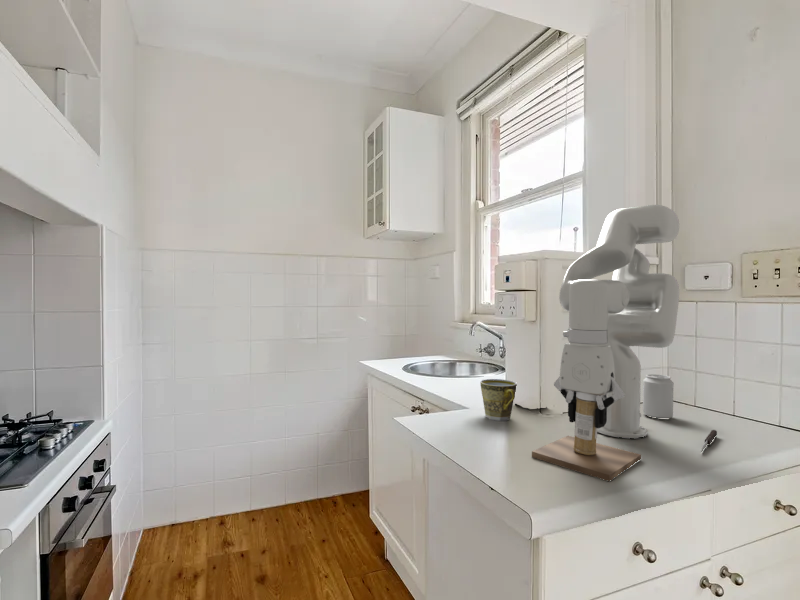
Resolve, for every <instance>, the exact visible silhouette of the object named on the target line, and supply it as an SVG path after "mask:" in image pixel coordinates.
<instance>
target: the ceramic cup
mask: <svg viewBox="0 0 800 600" xmlns="http://www.w3.org/2000/svg"><path fill="white" fill-rule="evenodd" d="M516 386H517V382H515V381H513V380H509V379H503V378H502V379H501V378H499V379H498V378H488V379H482V380H481V381H480V391H481V396H482V402H483V409H484V415H485V417H486V418H487V419H488V420H490V421H498V422H505V421H508V420H510V419H511V415H512V411H513V410H512V409H513V405H514V401H515V392H516Z"/></svg>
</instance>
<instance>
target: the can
mask: <svg viewBox="0 0 800 600" xmlns="http://www.w3.org/2000/svg"><path fill="white" fill-rule="evenodd" d="M671 378H672V377H671V376H670V375H666V374H665V375H664V374H654V373H651V374H650V373H649V374H645V378H643V380H642V384H643V385H642V386H643V387H642V388H643V389H642V413H643V414H644V415H645V416H646V415H647V416H651V417H656V418H670V419H671V418H673V417H674V387H675V386H674V381H672V380H671ZM647 416H646V417H647Z"/></svg>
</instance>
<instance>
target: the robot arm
mask: <svg viewBox="0 0 800 600" xmlns="http://www.w3.org/2000/svg"><path fill="white" fill-rule="evenodd" d="M679 231H680V221H679V216H678V215H677V213H676V211H674V209H671V208H670V207H668V206H665V205H663V204H650V205H649V204H648V205H641V206H632V207H625V208H617V209H616V210H613V211H612V212H610V213H609V214H608V215H607V216H606V218H605V219H604V223H603V225H602V228H601V231H600V234H599V237H598V240H597V241H596V246H595V247H593V248H592V249H590V250H588V251H587V252H586V253H584V254H582V255H581V256H580V257H579V258H578V259H576V260H575V261H573V263H571V264H570V265H569V267H568V269H567V270H566V272H565V274H564V276H563V277H564V278H563V280H562V282H561V285H560V289H559V294H558V295H559V296H558V297H559V298H558V300H559V303H560V306H561V307H562V309H563V310H565V311H566V312H568V329H567V330H563V333H562V335H563V338H567V341H568V342H565V343H564V344H563V349H562V355H561V360H560V369H559V376H558V377H557V379H556V380H555V381H554V382H553V386H554V387H555V388H556V389H557V390H558V391H559V392H560V394H561V396H562V397H564V399H565V402H566V403H567V415H568V416H567V417H569V418H568V420H569V422H570V423H575V415H576V403H577V399H576V398H577V397H576V392H581V393H587V394H592V395H595V397H596V401H597V405H598V408H597V409H595V427H596V428H597V433H599V434H602V435H605V436H608V437H614V438H619V437H622V438H621V439H630V438H634V439H639V438H638V437H643V438H645V437H646V436H647V435H648V430H647V429H646V428H645V427H644V426H641V417H642V412H641V373H642V367H641V362H640V359H639V358H638V356H637V355H636V354H635V352H634V351H633V350H632V348H631V347H642V348H654V349H655V348H656V349H657V348H658V349H659V348H662V349H663V348H664V349H665V348H667V347H669V346H670V345H671V344H672V343H673V342H674V339H675V335H676V326H677V318H678V312H679V303H680V285H679V282H678V280H677V278H676V277H675V276H674V275H672V274H669V273H663V272H662V273H658V272H657V273H654V272H653V273H649V271H650V267H651V266H650V261H649V259H648V258H647V257H646V255H644V253H643V252H642V251H640V250H639V249H637V248H636V246H637V245H645V244H648V245H649V244H661V243H663V244H664V243H665V244H666V243H670V242H671V243H672V242H674V240H675V239H677V237H678V234H679ZM609 273H612V277H611V279H595V278H596V277H599V276H603V275H606V274H609ZM644 436H645V437H644Z"/></svg>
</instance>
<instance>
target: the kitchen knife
mask: <svg viewBox="0 0 800 600" xmlns="http://www.w3.org/2000/svg"><path fill="white" fill-rule="evenodd" d="M716 435H717V436H718V431H717V430H716V429H712V430H711V431H710V433H709V434H708V435H707V436H706V438H705V439H704V443H703V445H702V446H701V447H702V448H701V450H700V453H701V452H702V451H703V449H704V448H705V447H706V445H707V444H710V443H711V442H712V440H713V439H714V437H715V436H716Z"/></svg>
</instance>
